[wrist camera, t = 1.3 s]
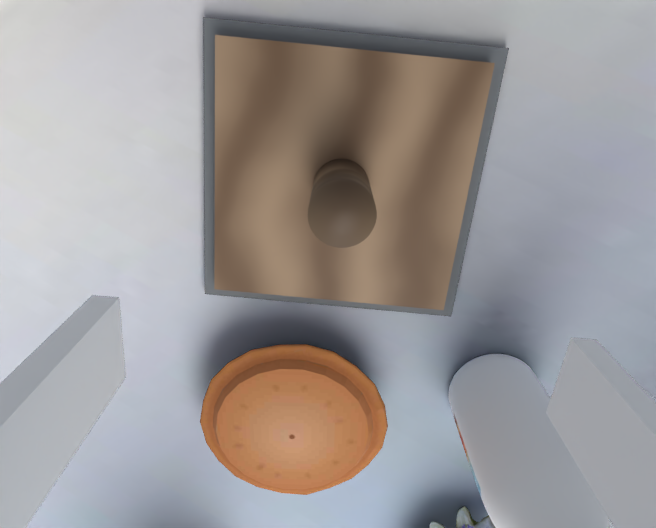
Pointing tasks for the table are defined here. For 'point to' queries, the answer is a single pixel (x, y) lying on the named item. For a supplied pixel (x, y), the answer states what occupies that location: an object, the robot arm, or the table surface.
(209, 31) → the rubber mat
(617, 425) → the robot arm
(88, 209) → the table surface
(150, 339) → the table surface
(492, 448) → the milk bottle
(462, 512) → the passion flower
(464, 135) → the walnut lid
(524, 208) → the table surface
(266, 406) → the pie
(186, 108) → the table surface
